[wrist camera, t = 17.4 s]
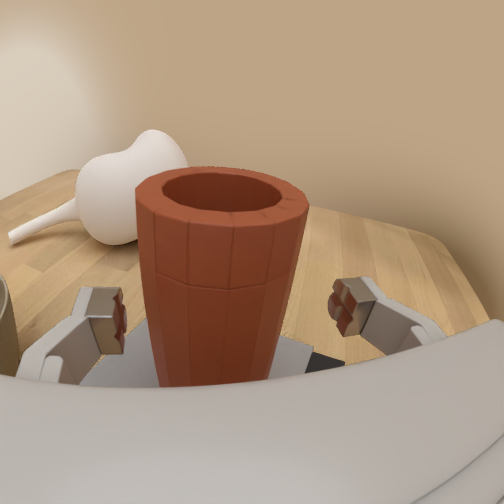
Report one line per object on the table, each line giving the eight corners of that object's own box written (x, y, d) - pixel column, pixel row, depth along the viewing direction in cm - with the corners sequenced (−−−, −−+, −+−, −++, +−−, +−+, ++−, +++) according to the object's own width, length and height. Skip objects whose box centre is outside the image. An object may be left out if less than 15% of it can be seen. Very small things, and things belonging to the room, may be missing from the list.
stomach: (138, 213, 51) (23, 274, 35) (119, 144, 46) (-6, 194, 29) (229, 218, 37) (56, 324, 21) (207, 115, 32) (-3, 179, 15)
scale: (306, 535, 10) (328, 529, 8) (77, 420, 14) (58, 392, 12) (352, 387, 20) (370, 358, 18) (172, 320, 24) (170, 287, 22)
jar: (237, 444, 12) (277, 247, 7) (139, 395, 14) (98, 195, 8) (277, 366, 17) (322, 187, 11) (192, 333, 18) (196, 159, 13)
